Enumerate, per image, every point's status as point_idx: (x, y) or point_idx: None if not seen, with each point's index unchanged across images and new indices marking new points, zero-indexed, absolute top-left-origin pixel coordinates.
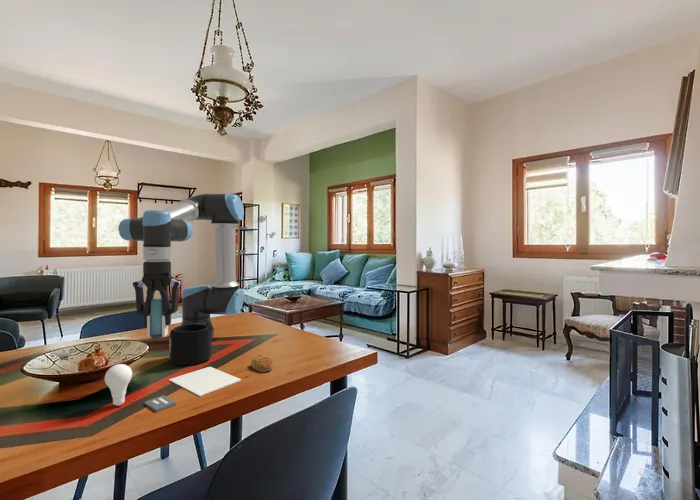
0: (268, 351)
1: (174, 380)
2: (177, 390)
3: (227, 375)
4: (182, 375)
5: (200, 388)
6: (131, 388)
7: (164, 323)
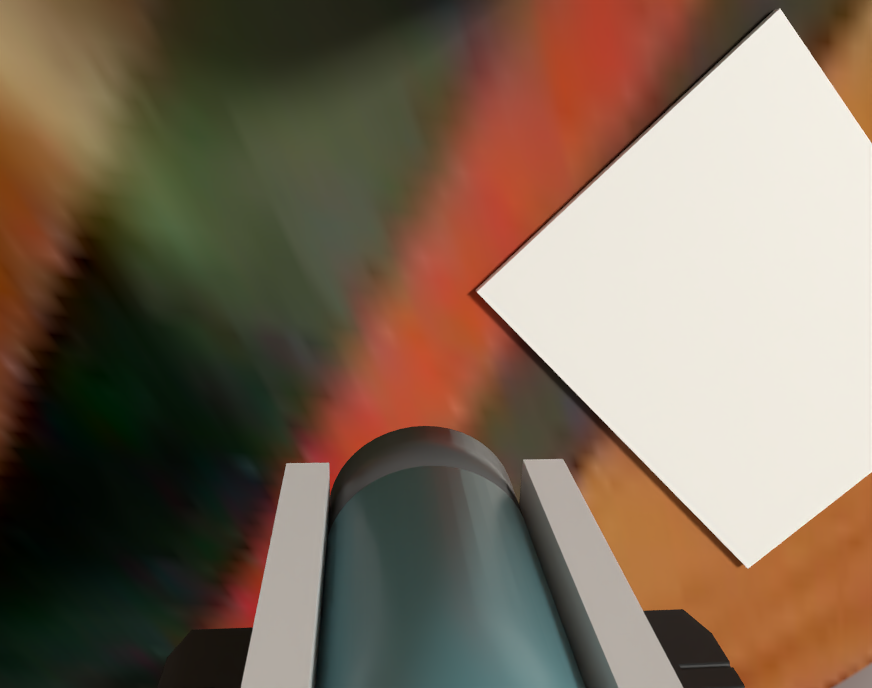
0: None
1: (528, 319)
2: (589, 471)
3: None
4: (566, 219)
5: (741, 477)
6: (243, 409)
7: None
